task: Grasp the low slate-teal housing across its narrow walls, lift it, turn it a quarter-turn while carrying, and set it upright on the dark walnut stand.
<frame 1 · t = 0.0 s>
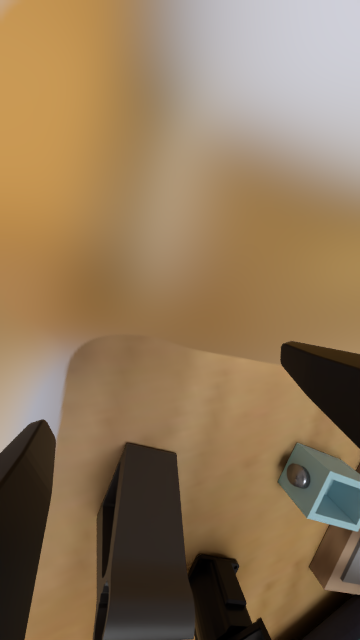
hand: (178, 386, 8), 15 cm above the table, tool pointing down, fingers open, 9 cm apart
portable speaker: (311, 629, 34), on the table, touching walnut stand
housing: (310, 470, 31), on the table
phone stand: (137, 481, 25), on the table
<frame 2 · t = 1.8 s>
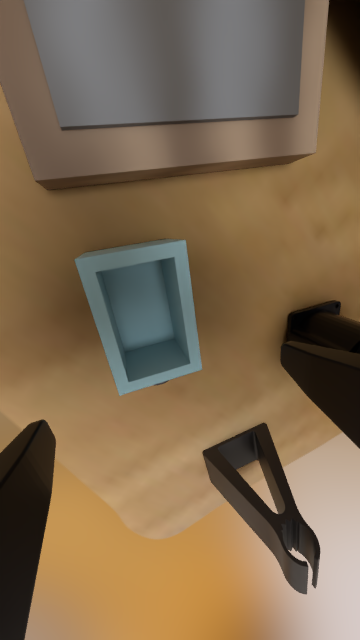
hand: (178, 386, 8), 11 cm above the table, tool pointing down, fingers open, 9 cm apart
housing: (139, 302, 18), on the table
phone stand: (236, 449, 29), on the table
walnut stand: (164, 23, 13), on the table
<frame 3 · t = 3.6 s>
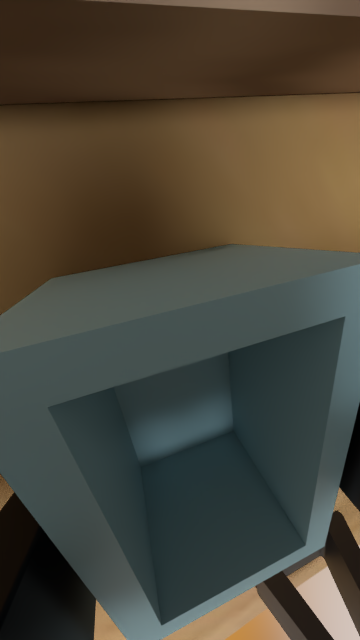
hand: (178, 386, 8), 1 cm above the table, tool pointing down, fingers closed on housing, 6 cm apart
housing: (171, 370, 9), on the table, touching gripper
phone stand: (294, 546, 20), on the table
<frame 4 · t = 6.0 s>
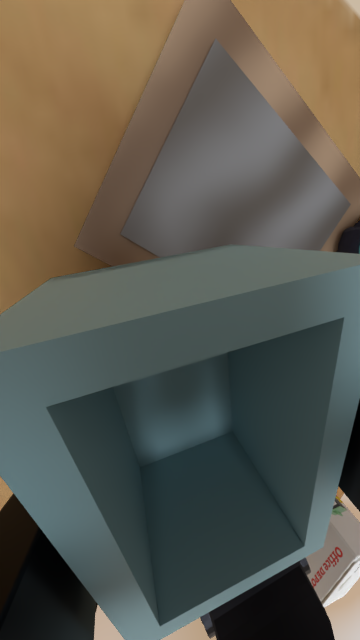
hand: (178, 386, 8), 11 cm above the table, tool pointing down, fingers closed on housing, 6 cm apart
portable speaker: (342, 322, 25), on the table, touching walnut stand
housing: (170, 371, 9), point 10 cm above the table, touching gripper
walnut stand: (229, 220, 18), on the table
ink box: (273, 470, 33), on the table
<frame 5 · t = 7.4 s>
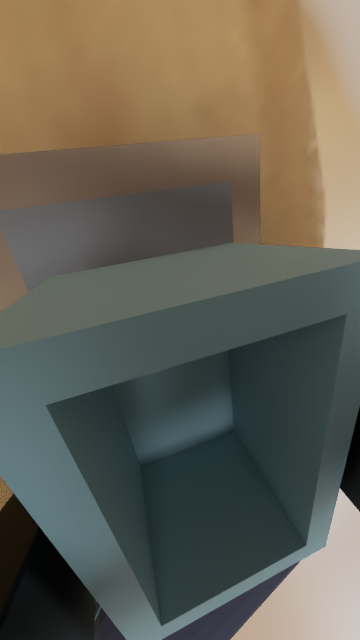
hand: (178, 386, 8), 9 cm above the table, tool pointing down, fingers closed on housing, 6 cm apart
portable speaker: (174, 480, 23), on the table, touching walnut stand
housing: (171, 370, 9), point 8 cm above the table, touching gripper
walnut stand: (146, 312, 16), on the table
when the fingers open (5 cm above the table, at t = 8.5 s): housing drops 1 cm, resting on walnut stand.
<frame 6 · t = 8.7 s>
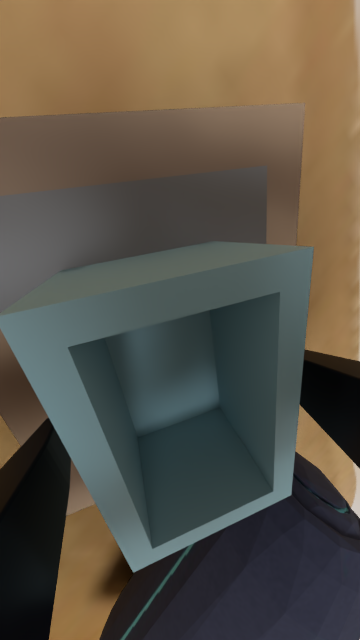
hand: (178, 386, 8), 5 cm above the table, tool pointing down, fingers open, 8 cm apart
portable speaker: (182, 514, 20), on the table, touching walnut stand
housing: (163, 352, 10), point 3 cm above the table, touching walnut stand
walnut stand: (153, 328, 13), on the table
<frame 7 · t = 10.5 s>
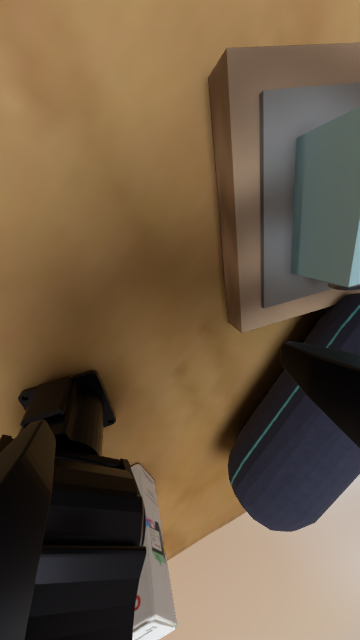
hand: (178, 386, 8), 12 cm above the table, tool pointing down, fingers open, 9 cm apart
portable speaker: (282, 379, 27), on the table, touching walnut stand
housing: (326, 206, 17), point 3 cm above the table, touching walnut stand
walnut stand: (297, 210, 19), on the table
ink box: (115, 487, 27), on the table
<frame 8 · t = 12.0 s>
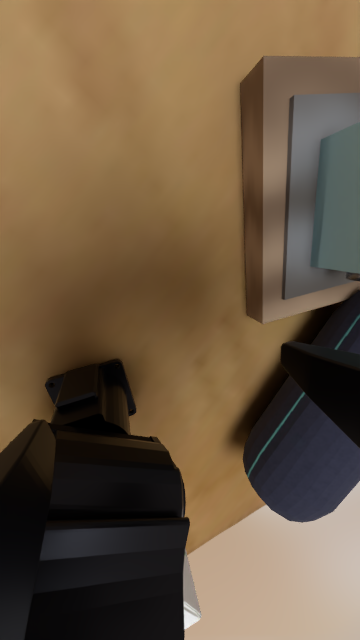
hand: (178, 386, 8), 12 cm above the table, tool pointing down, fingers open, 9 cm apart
portable speaker: (294, 374, 28), on the table, touching walnut stand
housing: (344, 204, 18), point 3 cm above the table, touching walnut stand
walnut stand: (314, 209, 21), on the table
ink box: (130, 482, 26), on the table
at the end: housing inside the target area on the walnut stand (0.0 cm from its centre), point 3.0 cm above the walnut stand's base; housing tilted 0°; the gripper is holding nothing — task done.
